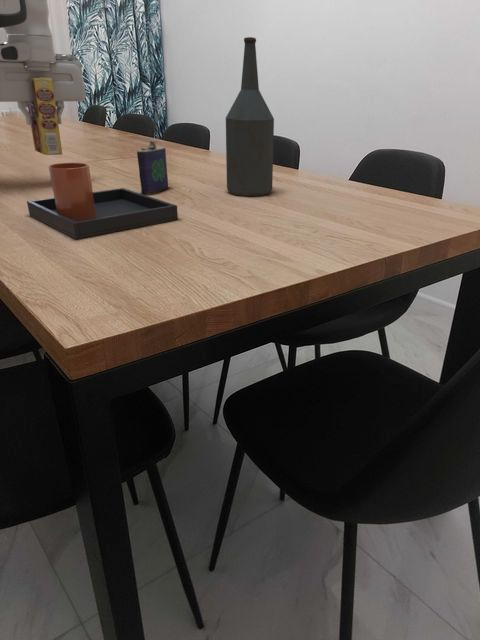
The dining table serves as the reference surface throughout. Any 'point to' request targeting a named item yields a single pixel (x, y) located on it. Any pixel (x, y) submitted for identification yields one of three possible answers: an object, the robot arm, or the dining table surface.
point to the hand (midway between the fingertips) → (44, 124)
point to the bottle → (249, 134)
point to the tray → (107, 213)
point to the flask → (152, 169)
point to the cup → (73, 190)
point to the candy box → (44, 117)
